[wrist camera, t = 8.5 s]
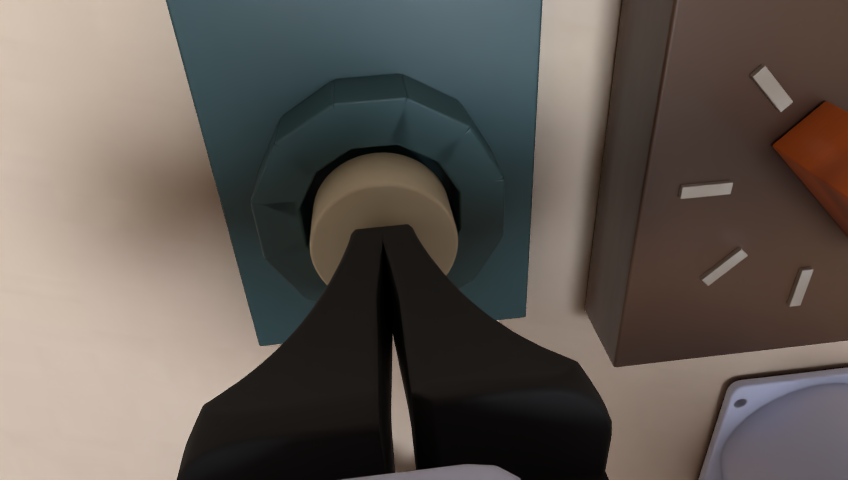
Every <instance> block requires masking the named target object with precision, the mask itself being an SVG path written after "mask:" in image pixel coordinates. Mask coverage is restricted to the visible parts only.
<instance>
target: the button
mask: <svg viewBox="0 0 848 480" xmlns="http://www.w3.org/2000/svg"><path fill="white" fill-rule="evenodd" d="M404 224H409V225H410V226H411V227H412V228H413V229H414V232H415V234H416V236H417V237H418V239H419V241H420V242H421V244H422V245H423V247H424V248H425V250H426V251H427V253H428V254H429V255H430V257H431V258H432V259H433V261H434V262H435V263H436V264H437V265H438V267H439V268H440V269H441V270H442V272H443V273H444V274H445V275H447V274H448V273H449V271H450V269H451V267H452V265H453V263H454V261H455V258H456V254H457V249H458V233H457V229H456V225H455V221H454V218H453V214H452V211H451V207H450V204H449V200H448V197H447V193H446V191H445V189H444V186H443V185H442V183H441V182H440V180H439V179H438V177H437V176H436V175H435V174H434V173H433V172H432V171H431V170H430V169H429V168H428V167H426V166H425V165H423V164H422V163H420V162H419V161H417V160H415V159H412V158H410V157H407V156H404V155H400V154H395V153H386V152H381V153H370V154H365V155H361V156H358V157H355V158H353V159H350V160H348V161H346V162H345V163H343V164H341V165H340V166H338V167H337V168H336V169H334V170H333V171H332V172H331V173H330V174H329V175H328V176H327V177H326V178H325V180H324V181H323V182H322V184H321V186H320V187H319V189H318V191H317V194H316V197H315V200H314V205H313V213H312V223H311V233H310V255H311V259H312V263H313V265H314V267H315V270H316V271H317V273H318V275H319V276H320V278H321V279H322V280H323V281H324V282H325V284H326V285H328V284H329V282H330V280H331V278H332V276H333V275H334V273H335V271H336V269H337V267H338V265H339V263H340V261H341V259H342V257H343V255H344V253H345V250H346V248H347V245H348V243H349V240H350V236H351V234H352V232H353V231H354V230H355V229H364V228H374V227H384V226H394V225H404Z"/></svg>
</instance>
